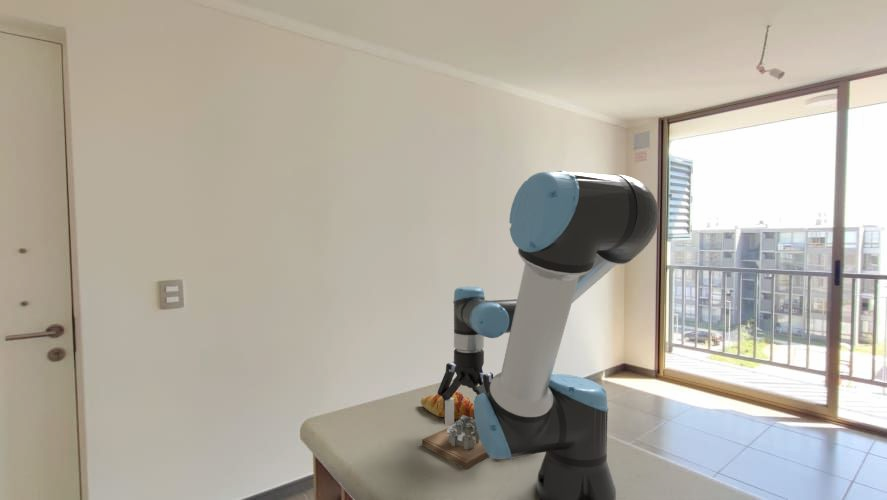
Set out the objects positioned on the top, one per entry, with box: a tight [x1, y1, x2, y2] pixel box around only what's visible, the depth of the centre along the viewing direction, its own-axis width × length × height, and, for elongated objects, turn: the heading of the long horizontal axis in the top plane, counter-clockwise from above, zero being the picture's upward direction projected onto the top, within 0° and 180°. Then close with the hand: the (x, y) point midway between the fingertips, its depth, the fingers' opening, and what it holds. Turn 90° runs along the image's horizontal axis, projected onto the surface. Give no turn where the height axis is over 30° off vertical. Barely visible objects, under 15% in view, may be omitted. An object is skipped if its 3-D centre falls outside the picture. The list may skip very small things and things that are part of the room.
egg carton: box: [447, 415, 480, 450], centre depth 103 cm, size 11×8×4 cm
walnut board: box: [421, 427, 490, 470], centre depth 104 cm, size 15×18×2 cm
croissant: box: [420, 391, 475, 420], centre depth 122 cm, size 21×10×8 cm, turn 62°
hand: (468, 432), depth 104 cm, fingers open, 13 cm apart
